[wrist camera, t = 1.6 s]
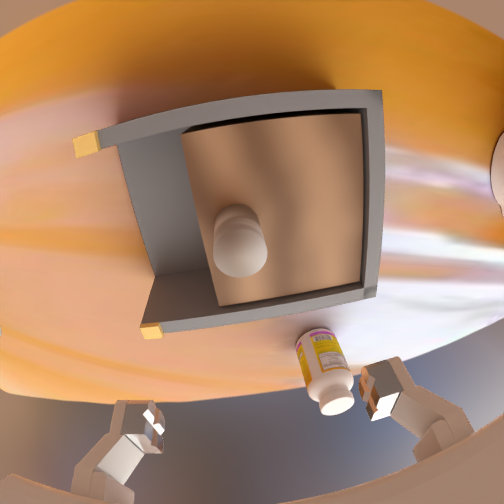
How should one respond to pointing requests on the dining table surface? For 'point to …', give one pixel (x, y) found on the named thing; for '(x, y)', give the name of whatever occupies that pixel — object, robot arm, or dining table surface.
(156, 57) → the dining table surface
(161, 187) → the bay
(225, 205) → the wooden block with knob
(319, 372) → the supplement bottle
